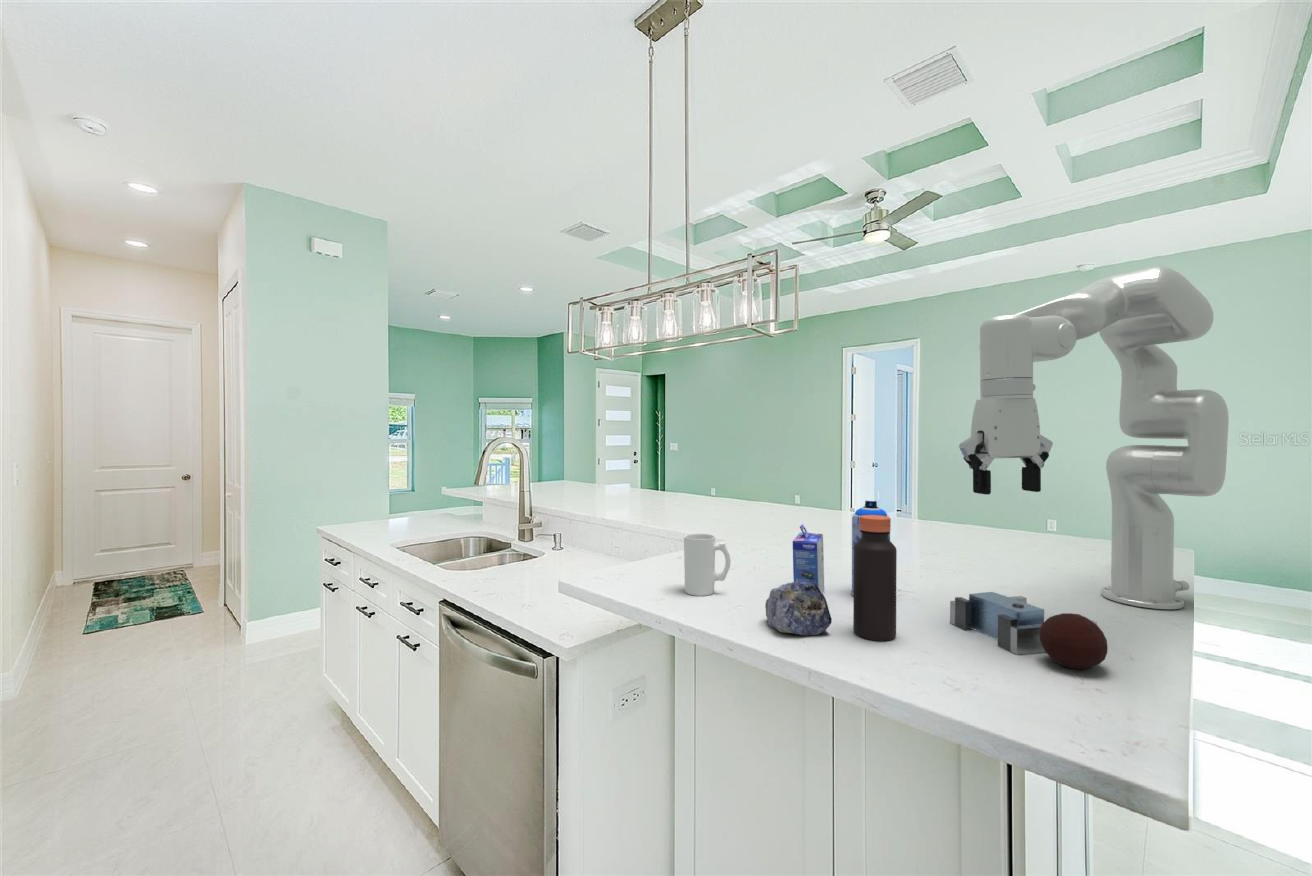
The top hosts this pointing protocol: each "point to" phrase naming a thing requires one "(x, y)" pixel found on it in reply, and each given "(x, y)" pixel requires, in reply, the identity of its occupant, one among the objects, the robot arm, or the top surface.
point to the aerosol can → (868, 509)
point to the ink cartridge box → (808, 558)
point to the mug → (702, 563)
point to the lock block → (1001, 612)
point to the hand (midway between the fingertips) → (1006, 492)
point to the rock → (798, 609)
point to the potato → (1073, 641)
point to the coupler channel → (1001, 628)
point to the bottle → (875, 580)
